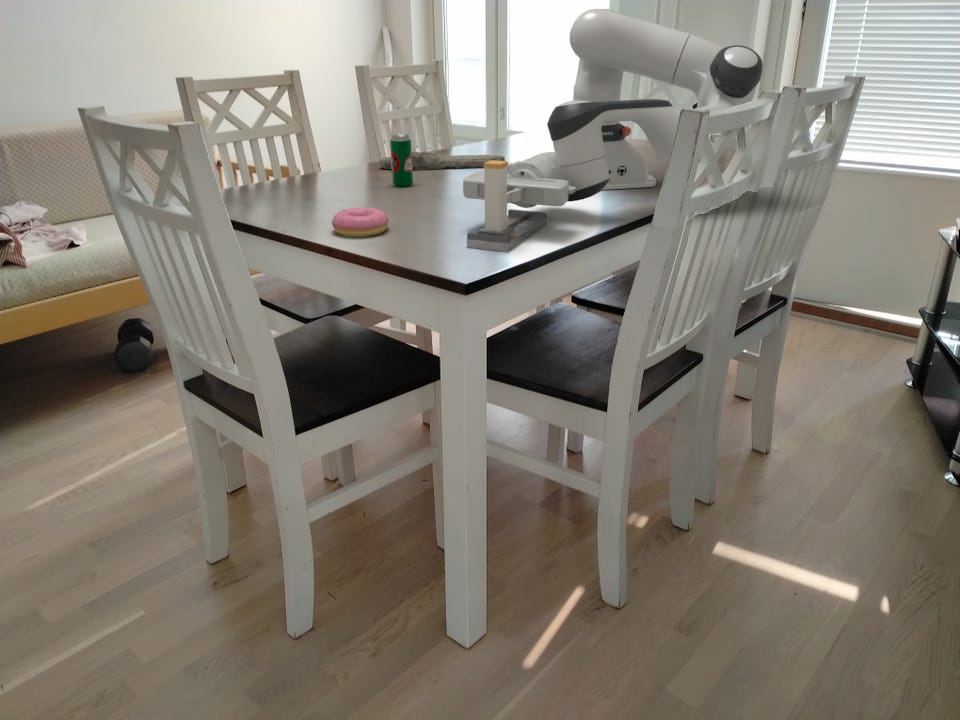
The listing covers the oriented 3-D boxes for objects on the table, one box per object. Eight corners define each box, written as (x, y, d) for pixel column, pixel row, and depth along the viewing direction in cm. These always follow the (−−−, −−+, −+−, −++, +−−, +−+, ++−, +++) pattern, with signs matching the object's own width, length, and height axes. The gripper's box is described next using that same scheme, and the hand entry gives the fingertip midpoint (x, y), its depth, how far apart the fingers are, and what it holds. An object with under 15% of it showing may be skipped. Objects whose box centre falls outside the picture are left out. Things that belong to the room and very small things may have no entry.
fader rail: (510, 221, 148) (510, 209, 147) (547, 225, 145) (547, 212, 144) (466, 247, 132) (466, 233, 131) (507, 252, 129) (507, 238, 128)
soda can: (410, 188, 179) (407, 137, 174) (390, 187, 180) (387, 136, 175) (415, 183, 183) (413, 134, 178) (396, 183, 184) (393, 133, 179)
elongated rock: (507, 174, 201) (502, 169, 210) (508, 154, 199) (503, 150, 208) (378, 171, 198) (379, 166, 207) (378, 150, 196) (379, 147, 205)
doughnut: (326, 228, 145) (324, 208, 144) (379, 222, 150) (378, 202, 148) (341, 242, 136) (339, 220, 135) (397, 235, 141) (395, 213, 139)
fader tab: (489, 229, 136) (488, 159, 130) (513, 232, 134) (514, 160, 129) (477, 236, 132) (476, 163, 126) (503, 239, 130) (503, 165, 124)
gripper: (578, 204, 140) (553, 221, 129) (481, 195, 148) (450, 210, 137) (579, 171, 137) (555, 185, 126) (481, 163, 145) (449, 176, 134)
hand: (499, 198), depth 131 cm, fingers closed, pressing on fader tab
